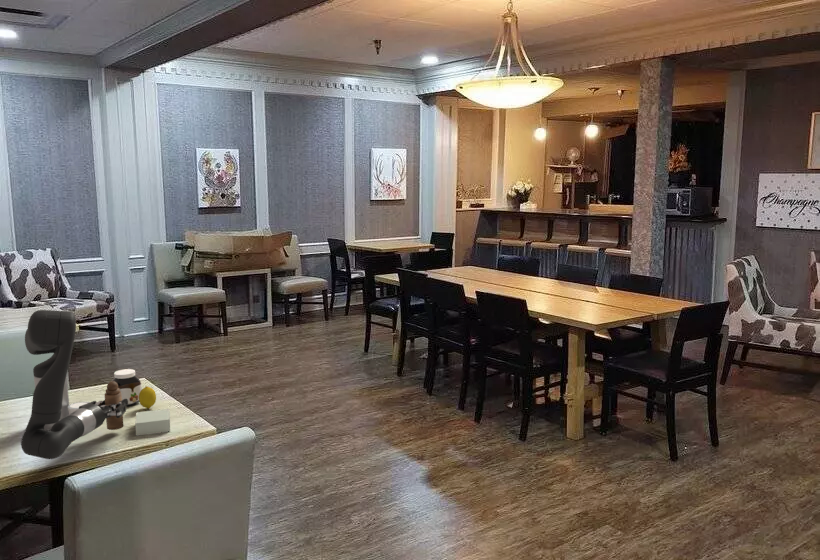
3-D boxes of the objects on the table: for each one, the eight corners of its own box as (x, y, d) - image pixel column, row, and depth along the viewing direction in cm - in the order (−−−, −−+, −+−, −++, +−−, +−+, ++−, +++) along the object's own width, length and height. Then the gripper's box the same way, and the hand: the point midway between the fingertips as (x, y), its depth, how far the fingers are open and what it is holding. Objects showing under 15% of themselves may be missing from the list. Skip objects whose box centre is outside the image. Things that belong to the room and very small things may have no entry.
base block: (136, 435, 209) (135, 423, 208) (137, 424, 218) (136, 412, 217) (170, 431, 212) (169, 419, 212) (170, 420, 221) (169, 408, 221)
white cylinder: (88, 419, 222) (86, 399, 221) (96, 425, 217) (94, 404, 216) (66, 425, 217) (64, 404, 216) (73, 431, 212) (71, 410, 211)
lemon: (145, 412, 228) (143, 390, 227) (136, 409, 232) (134, 387, 230) (160, 408, 233) (158, 386, 231) (151, 404, 236) (149, 382, 235)
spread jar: (115, 410, 231) (113, 377, 229) (104, 401, 239) (102, 370, 237) (150, 402, 239) (148, 370, 237) (139, 394, 247) (136, 363, 245)
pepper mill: (106, 430, 207) (102, 384, 205) (107, 425, 212) (104, 379, 209) (123, 428, 209) (120, 383, 207) (124, 423, 213) (121, 378, 211)
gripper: (105, 410, 193) (138, 391, 210) (60, 406, 196) (97, 387, 212) (106, 435, 195) (140, 413, 211) (62, 431, 197) (99, 410, 214)
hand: (118, 401), depth 212 cm, fingers closed on pepper mill, 4 cm apart
